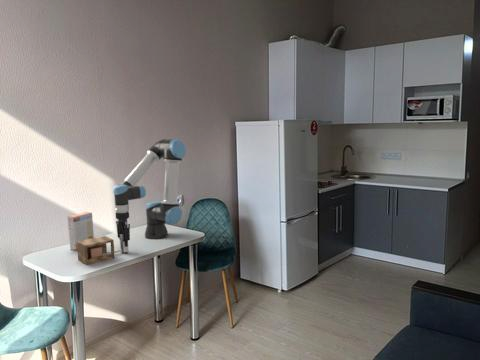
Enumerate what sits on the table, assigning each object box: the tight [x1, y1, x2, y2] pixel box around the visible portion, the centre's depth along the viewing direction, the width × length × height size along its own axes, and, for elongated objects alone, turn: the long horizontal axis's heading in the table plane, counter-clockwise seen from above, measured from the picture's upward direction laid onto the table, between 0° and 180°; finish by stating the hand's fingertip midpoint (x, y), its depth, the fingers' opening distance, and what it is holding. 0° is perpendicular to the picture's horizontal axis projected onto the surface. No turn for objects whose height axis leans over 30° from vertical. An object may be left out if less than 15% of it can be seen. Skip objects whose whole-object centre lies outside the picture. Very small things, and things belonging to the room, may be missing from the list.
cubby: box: [77, 235, 115, 266], centre depth 235 cm, size 16×11×11 cm
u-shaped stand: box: [87, 234, 128, 259], centre depth 240 cm, size 22×6×11 cm, turn 131°
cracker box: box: [67, 211, 95, 252], centre depth 258 cm, size 14×6×21 cm, turn 149°
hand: (124, 250), depth 247 cm, fingers closed on u-shaped stand, 3 cm apart
